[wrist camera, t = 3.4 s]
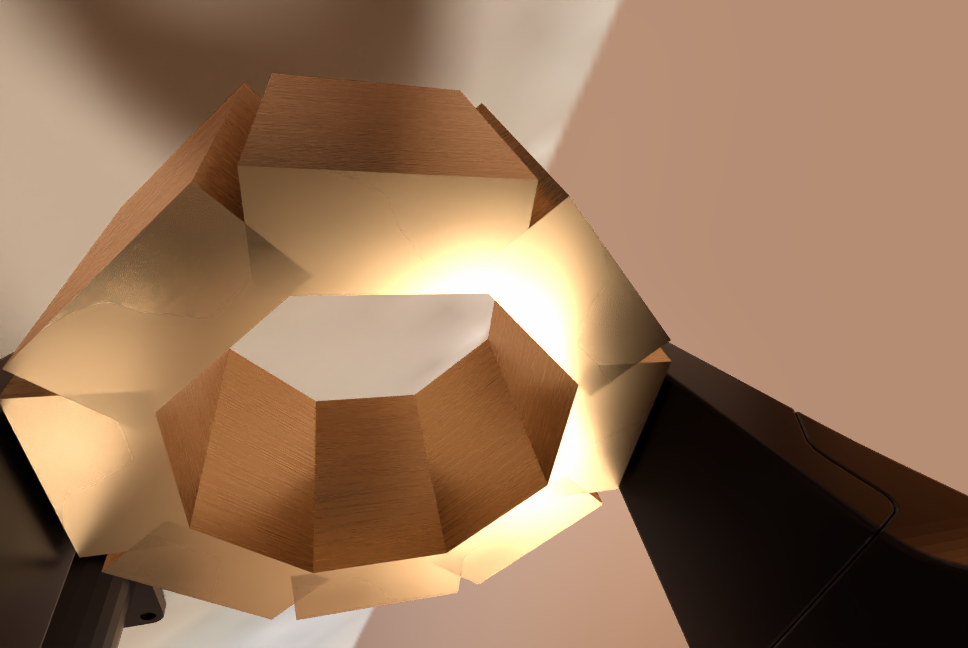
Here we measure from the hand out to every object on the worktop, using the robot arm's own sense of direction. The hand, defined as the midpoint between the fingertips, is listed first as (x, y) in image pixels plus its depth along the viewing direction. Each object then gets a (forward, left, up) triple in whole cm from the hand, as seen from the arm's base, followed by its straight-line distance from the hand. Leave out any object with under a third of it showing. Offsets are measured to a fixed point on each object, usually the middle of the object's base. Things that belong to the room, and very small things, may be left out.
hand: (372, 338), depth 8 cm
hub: (0, 0, -1) cm, 1 cm away
